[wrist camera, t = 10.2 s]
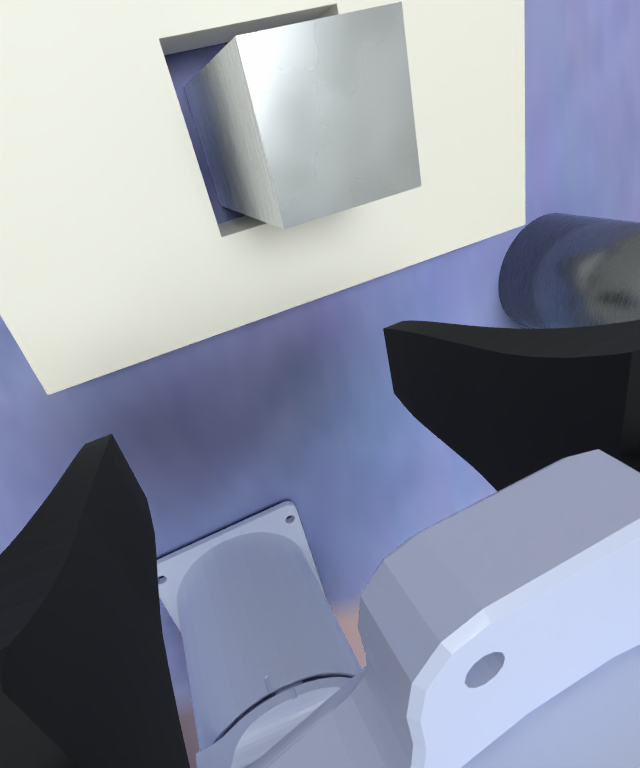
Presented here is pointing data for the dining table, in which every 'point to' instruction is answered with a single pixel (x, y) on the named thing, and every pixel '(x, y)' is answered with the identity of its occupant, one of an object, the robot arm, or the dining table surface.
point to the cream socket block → (186, 185)
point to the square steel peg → (309, 117)
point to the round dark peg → (572, 272)
